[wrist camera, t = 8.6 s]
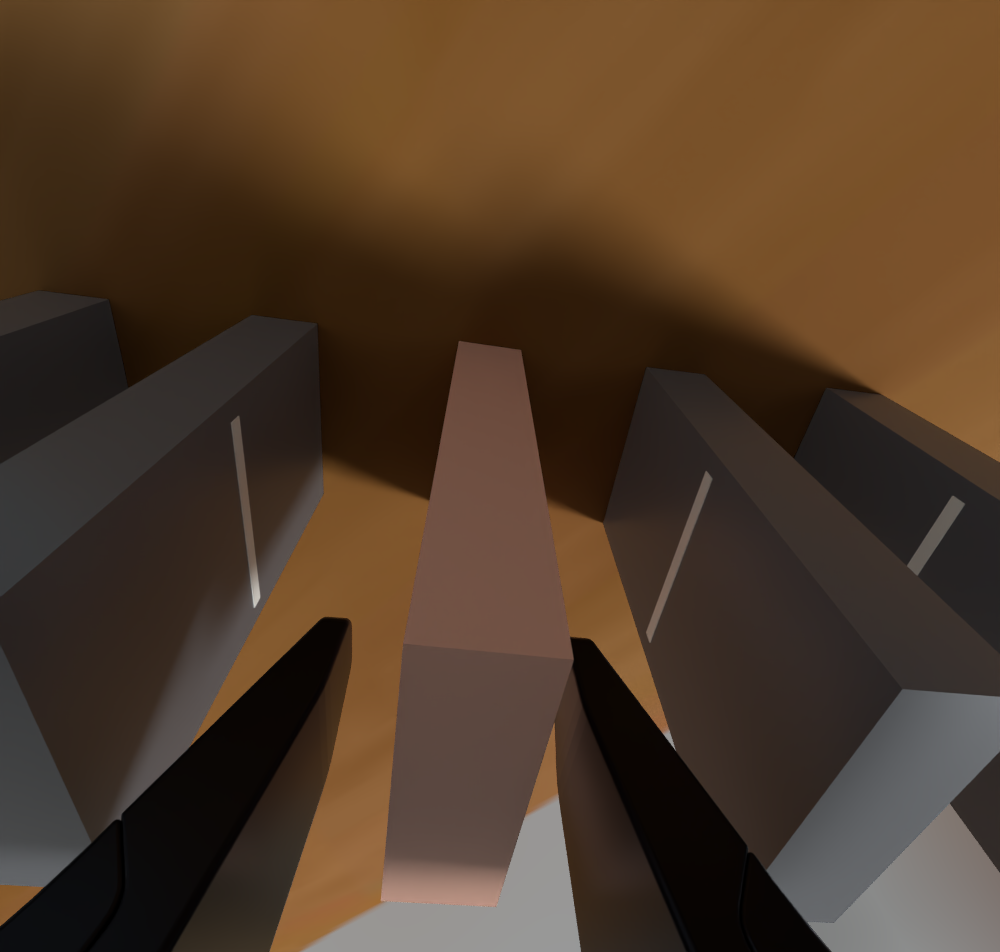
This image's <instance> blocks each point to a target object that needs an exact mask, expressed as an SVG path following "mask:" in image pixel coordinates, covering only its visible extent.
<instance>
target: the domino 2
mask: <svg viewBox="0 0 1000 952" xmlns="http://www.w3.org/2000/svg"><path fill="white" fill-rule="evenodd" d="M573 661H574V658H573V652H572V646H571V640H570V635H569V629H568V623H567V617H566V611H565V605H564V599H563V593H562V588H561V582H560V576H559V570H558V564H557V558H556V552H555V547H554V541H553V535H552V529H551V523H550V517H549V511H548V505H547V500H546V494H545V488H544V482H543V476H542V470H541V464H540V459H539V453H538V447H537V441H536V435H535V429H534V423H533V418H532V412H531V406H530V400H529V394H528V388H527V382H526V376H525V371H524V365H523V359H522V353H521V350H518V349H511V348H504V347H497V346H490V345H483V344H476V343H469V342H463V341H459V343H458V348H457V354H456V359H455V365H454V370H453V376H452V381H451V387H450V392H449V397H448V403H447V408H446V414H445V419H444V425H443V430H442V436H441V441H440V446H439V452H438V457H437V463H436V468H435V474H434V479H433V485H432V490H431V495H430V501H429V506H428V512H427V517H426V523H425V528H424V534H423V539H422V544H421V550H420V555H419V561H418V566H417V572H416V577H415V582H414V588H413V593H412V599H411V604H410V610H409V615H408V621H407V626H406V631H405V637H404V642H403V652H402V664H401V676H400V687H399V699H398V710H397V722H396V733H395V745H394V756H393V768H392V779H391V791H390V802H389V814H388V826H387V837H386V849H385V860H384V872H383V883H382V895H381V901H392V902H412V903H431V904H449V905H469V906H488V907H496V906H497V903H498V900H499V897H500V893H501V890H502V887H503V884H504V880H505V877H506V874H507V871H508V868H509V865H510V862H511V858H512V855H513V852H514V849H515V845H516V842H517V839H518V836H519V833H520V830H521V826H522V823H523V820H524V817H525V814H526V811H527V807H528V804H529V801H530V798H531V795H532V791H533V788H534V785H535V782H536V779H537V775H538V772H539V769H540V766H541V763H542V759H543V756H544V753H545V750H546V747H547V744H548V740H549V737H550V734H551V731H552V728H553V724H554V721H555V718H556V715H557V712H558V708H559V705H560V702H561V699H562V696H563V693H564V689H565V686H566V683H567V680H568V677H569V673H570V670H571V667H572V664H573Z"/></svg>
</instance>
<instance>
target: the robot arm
mask: <svg viewBox="0 0 1000 952" xmlns="http://www.w3.org/2000/svg"><path fill="white" fill-rule="evenodd" d="M570 640H571V646H572V652H573V658H574V661H573V664H572V667H571V670H570V673H569V677H568V680H567V683H566V686H565V689H564V693H563V696H562V699H561V702H560V705H559V708H558V712H557V715H556V718H555V743H556V770H557V786H558V794H559V803H560V810H561V817H562V824H563V830H564V837H565V844H566V850H567V857H568V864H569V871H570V877H571V885H572V892H573V899H574V906H575V913H576V919H577V926H578V933H579V940H580V947H581V952H831V950H830V949H829V948H828V947H827V946H826V945H825V943H824V942H823V941H822V940H821V939H820V937H819V936H818V935H817V934H816V933H815V932H814V931H813V929H812V928H811V927H810V925H809V924H808V923H807V922H806V920H805V919H804V918H803V916H802V915H801V914H800V913H799V911H798V910H797V909H796V908H795V906H794V905H793V904H792V903H791V901H790V900H789V899H788V897H787V896H786V895H785V894H784V892H783V891H782V890H781V889H780V887H779V886H778V885H777V883H776V882H775V881H774V880H773V878H772V877H771V876H770V874H769V873H768V872H767V870H766V869H765V868H764V866H763V865H762V864H761V862H760V861H759V860H758V858H757V857H756V856H755V854H754V853H752V852H749V853H748V846H747V844H746V843H745V842H744V840H743V839H742V838H741V836H740V835H739V834H738V832H737V831H736V830H735V828H734V827H733V826H732V824H731V823H730V822H729V821H728V819H727V818H726V817H725V815H724V814H723V813H722V811H721V810H720V809H719V807H718V806H717V805H716V803H715V802H714V801H713V799H712V798H711V797H710V795H709V794H708V793H707V791H706V790H705V789H704V787H703V786H702V785H701V784H700V782H699V781H698V780H697V778H696V777H695V776H694V774H693V773H692V772H691V770H690V769H689V768H688V766H687V765H686V764H685V762H684V761H683V760H682V758H681V757H680V756H679V754H678V753H677V752H676V751H675V749H674V748H673V747H672V745H671V744H670V743H669V741H668V740H667V739H666V737H665V736H664V735H663V733H662V732H661V731H660V729H659V728H658V727H657V725H656V724H655V723H654V721H653V720H652V719H651V718H650V716H649V715H648V714H647V712H646V711H645V710H644V708H643V707H642V706H641V704H640V703H639V702H638V700H637V699H636V698H635V696H634V695H633V694H632V692H631V691H630V690H629V688H628V687H627V686H626V684H625V683H624V682H623V681H622V679H621V678H620V677H619V675H618V674H617V673H616V671H615V670H614V669H613V667H612V666H611V665H610V663H609V662H608V661H607V659H606V658H605V657H604V655H603V654H602V653H601V651H600V650H599V649H598V648H597V646H596V645H595V644H594V642H593V641H591V640H590V639H588V638H577V637H570ZM351 661H352V624H351V621H350V620H349V619H347V618H337V617H324V618H322V619H321V620H319V621H318V622H317V623H316V624H315V625H314V626H313V627H312V628H311V629H310V630H309V631H308V632H307V633H306V634H305V635H304V636H303V637H302V638H301V639H300V640H299V641H298V642H297V643H296V644H295V645H294V646H293V647H292V648H291V649H290V650H289V651H288V652H287V653H286V654H285V655H283V656H282V657H281V658H280V659H279V660H278V661H277V662H276V663H275V664H274V665H273V666H272V667H271V668H270V669H269V670H268V671H267V672H266V673H265V674H264V675H263V676H262V677H261V678H260V679H259V680H258V681H257V682H256V683H255V684H254V685H253V686H252V687H251V688H250V689H249V690H248V691H247V692H246V693H245V694H244V695H243V696H242V697H240V698H239V699H238V700H237V701H236V702H235V703H234V704H233V705H232V706H231V707H230V708H229V709H228V710H227V711H226V712H225V713H224V714H223V715H222V716H221V717H220V718H219V719H218V720H217V721H216V722H215V723H214V724H213V725H212V726H211V727H210V728H209V729H208V730H207V731H206V732H205V733H204V734H203V735H202V736H201V737H200V738H198V739H197V740H196V741H195V742H194V743H193V744H192V745H191V746H190V747H189V748H188V749H187V750H186V751H185V752H184V753H183V754H182V755H181V756H180V757H179V758H178V759H177V760H176V761H175V762H174V763H173V764H172V765H171V766H170V767H169V768H168V769H167V770H166V771H165V772H164V773H163V774H162V775H161V776H160V777H159V778H158V779H156V780H155V781H154V782H153V783H152V784H151V785H150V786H149V787H148V788H147V789H146V790H145V791H144V792H143V793H142V794H141V795H140V796H139V797H138V798H137V799H136V800H135V801H134V802H133V803H132V804H131V805H130V806H129V807H128V808H127V809H126V810H125V811H124V812H123V813H122V814H121V820H120V819H116V820H114V821H113V822H112V823H111V824H110V825H109V826H108V827H107V828H106V829H105V830H104V831H103V832H102V833H101V834H100V835H99V836H98V837H97V838H96V839H95V840H94V841H93V842H92V843H91V844H90V845H88V846H87V847H86V848H85V849H84V850H83V851H82V852H81V853H80V854H79V855H78V856H77V857H76V858H75V859H74V860H73V861H72V862H71V863H70V864H68V865H67V866H66V867H65V868H64V869H63V870H62V871H61V872H60V873H59V874H58V875H57V876H56V877H55V878H54V879H52V880H51V881H50V882H49V883H48V884H47V885H46V886H45V887H44V888H43V889H42V890H41V891H40V892H39V893H38V894H36V895H35V896H34V897H33V898H32V899H31V900H30V901H29V902H28V903H27V904H25V905H24V906H23V907H22V908H21V909H20V910H19V911H17V912H16V913H15V914H14V915H13V916H12V917H11V918H9V919H8V920H7V921H6V922H5V923H4V924H2V925H1V926H0V952H269V951H270V948H271V945H272V942H273V939H274V936H275V933H276V930H277V927H278V924H279V921H280V918H281V915H282V912H283V909H284V906H285V903H286V900H287V897H288V894H289V891H290V888H291V885H292V882H293V879H294V876H295V873H296V870H297V867H298V863H299V860H300V857H301V854H302V851H303V848H304V845H305V842H306V839H307V836H308V833H309V830H310V827H311V824H312V821H313V818H314V815H315V812H316V809H317V806H318V803H319V800H320V797H321V794H322V791H323V788H324V784H325V781H326V778H327V774H328V771H329V767H330V763H331V759H332V754H333V750H334V745H335V740H336V736H337V731H338V726H339V721H340V717H341V712H342V707H343V702H344V698H345V693H346V688H347V684H348V679H349V674H350V669H351Z"/></svg>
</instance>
